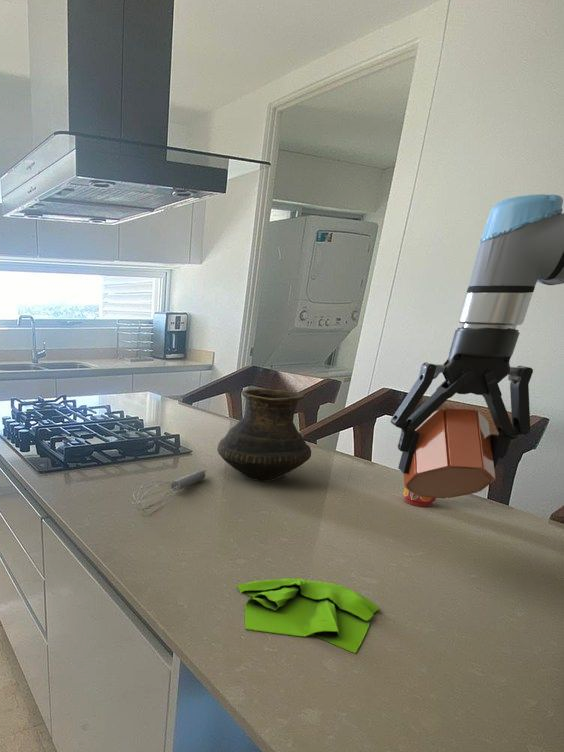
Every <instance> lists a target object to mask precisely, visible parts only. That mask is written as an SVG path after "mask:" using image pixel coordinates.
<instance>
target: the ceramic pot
mask: <svg viewBox="0 0 564 752" xmlns="http://www.w3.org/2000/svg"><path fill="white" fill-rule="evenodd" d="M241 395H242V396H243V397H244V398H245V412H244V416H243V417H242V418H241V419H240V420H239V421H238V422H236V424H235V425H234V426H232V427H231V428H230V429H229V430H228V431H227V433H226V435H225V436H224V437H223V438H221V439H220V440H219V442H218V443H217V449H216V451H217V453H218V455H219V456H220V457H221V458H222V459H223V461H224V462H226V463H227V464H228V465H229V466H230V467H232V468H233V469H235V470H236V471H237V472H239V473H240V474H242V475H244V476H245V477H246V478H248V479H251V480H254V481H259V482H260V481H261V482H263V481H265V482H270V481H274V480H277V479H278V478H281V477H283V476H284V475H286V474H289V473H291V472H292V471H294V470H296V469H297V468H299V467H301V466H302V465H304V464H305V463H306V462H307V461H308V460H310V459H311V457H312V450H311V447H310V445H308V444H307V442H306V440H305V438H304V436H303V435H302V434H301V433H300V432H299V431H298V429H297V427H296V425H295V422H294V419H295V411H296V409H297V406H298V402H300V401H301V400H302V399H304V398H305V394H303V393H301V392H298V391H289V390H282V389H269V388H268V389H267V388H248V389H245V390H243V391H241Z"/></svg>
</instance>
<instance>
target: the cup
mask: <svg viewBox="0 0 564 752" xmlns="http://www.w3.org/2000/svg"><path fill="white" fill-rule="evenodd" d="M415 431H416V432H418V433H419V438H418V441H417V445H416V448H415V452H414V455H413V459H412V462H411V466H410V470H409V474H405V473H403V482H404V483H403V485H404V486H403V487H404V489H405V488H407V489H408V490H409V491H411V492H412V493H413V494H415V495H416V496H421V497H434V498H436V499H452V498H453V499H454V498H457V497H463V496H467V495H473V494H477V493H478V494H479V492H480V493H481V492H482V491H483V490H484V489H486V488H487V487H488V486H489V485H491V484H492V483H493V482H495V481H496V472H495V469H494V463H493V455H492V447H491V439H490V436H491V431H490V423H489V420H487V419H486V417H484V416H483V414H482V413H481V412H480V411H479V410H477V409H469V408H467V409H466V408H450V407H449V408H447V407H446V408H441V409H437V410H436V411H435V412H434V413H432V414H431V415H430V416H429V417H428V418H427V419H426V420H425V421H424V422H423V423H422V424H421V425H420V426H419V427H418V428H417V429H416V430H415Z"/></svg>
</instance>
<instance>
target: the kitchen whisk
mask: <svg viewBox="0 0 564 752" xmlns="http://www.w3.org/2000/svg"><path fill="white" fill-rule="evenodd" d="M206 473H207V470H205V469H204V470H201V469H200V470H196V471H193V472H192V473H189V474H187V475H184V476H182V477H180V478H177V479H175V480H173V481H172V482H169V481H167V482H164V480H163V481H161V480H159V481H158V480H157V481H155V483H160V484H156V485H150V486H149V485H148V484H151V483H152V484H153V481H150V482H147V483H144V484H143V485H141V487H140V488H139V489H136V490H135V491H134V492H133V494H132V495H133V496H132V497H133V499H134V501H132V504H135V503H136V504H137V507H136V510H138V511H140V509H142V510H141V511H143V512H144V513H148V512H149V511H146V510H145V509H144V508H146V507H147V508H149V509H157V508H159V507H160V506H161V507H162V506H164V505H165V504H166V503H168V502H169V501H170V500H171V499H172V498H173V496H174V495H175V493H177V492H179V491H181V490H183V489H185V488H188V487H190V486H192V485H194V484H196V483H198V482H200V481H203V480H204V479H205V477H206ZM145 485H148V486H145ZM163 485H168V486H170V487H168V488H165V489H162V490H159V491H157V492H154V493H151V494H148V495H146V494H147V493H148V492H149V491H151V490H152V489H153V488H155V487H158V486H161V487H162V486H163ZM146 488H149V489H148V490H147V491H146V492H145V493H144V494H142V496H141V498H139V497H137V499H136V498H135V493H137V492H138V493H137V496H139V494H140V491H141V490H143V489H146ZM169 489H171V490H169ZM166 490H169V491H167V492H165V493H163V494H160V495H158V496H155V497H152V498H150V499H146V500H143V499H144V498H147V497H150V496H152V495H156V494H157V493H160V492H163V491H166ZM172 491H173V492H172ZM171 492H172V493H171ZM169 493H171V495H170V496H169V497H168V498H167V499H166V500H165V501H166V502H165V503H164V502H163V503H164V504H163V503H162V504H163V505H162V504H161V505H158V506H149V507H148V506H147V505H144V504H142V503H144V502H148V501H152V500H154V499H157V498H159V497H160V498H159V499H160V500H161V499H162V498H164V497H165V496H167V495H168V494H169ZM142 500H143V501H142ZM139 506H140V509H139ZM142 506H143V507H144V508H142ZM161 507H160V508H161Z"/></svg>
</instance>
